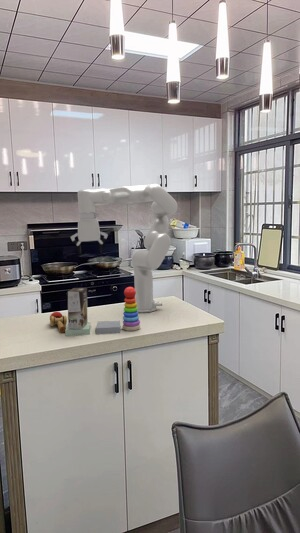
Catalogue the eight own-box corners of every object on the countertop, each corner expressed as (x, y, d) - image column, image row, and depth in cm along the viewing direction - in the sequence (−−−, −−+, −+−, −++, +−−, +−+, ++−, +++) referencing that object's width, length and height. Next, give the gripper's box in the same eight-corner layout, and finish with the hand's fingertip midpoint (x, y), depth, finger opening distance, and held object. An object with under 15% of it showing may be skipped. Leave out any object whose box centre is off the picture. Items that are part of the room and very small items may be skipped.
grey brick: (120, 326, 170) (119, 320, 169) (120, 333, 160) (119, 327, 159) (97, 328, 169) (97, 321, 169) (96, 335, 159) (96, 328, 159)
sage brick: (90, 328, 169) (90, 322, 168) (89, 335, 159) (89, 328, 159) (68, 330, 168) (67, 323, 167) (65, 337, 158) (65, 330, 158)
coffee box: (82, 329, 158) (82, 291, 156) (67, 328, 158) (67, 291, 156) (88, 323, 167) (87, 287, 165) (73, 322, 167) (73, 287, 165)
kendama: (73, 334, 165) (64, 318, 180) (70, 321, 162) (61, 307, 178) (56, 339, 162) (48, 323, 178) (53, 326, 160) (45, 311, 175)
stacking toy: (120, 327, 167) (118, 286, 165) (136, 325, 170) (135, 284, 168) (125, 332, 160) (124, 289, 158) (143, 329, 163) (141, 287, 161)
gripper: (106, 215, 179) (108, 251, 182) (69, 217, 177) (72, 253, 180) (106, 215, 172) (109, 252, 175) (68, 218, 170) (71, 255, 173)
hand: (90, 253), depth 177 cm, fingers open, 9 cm apart
